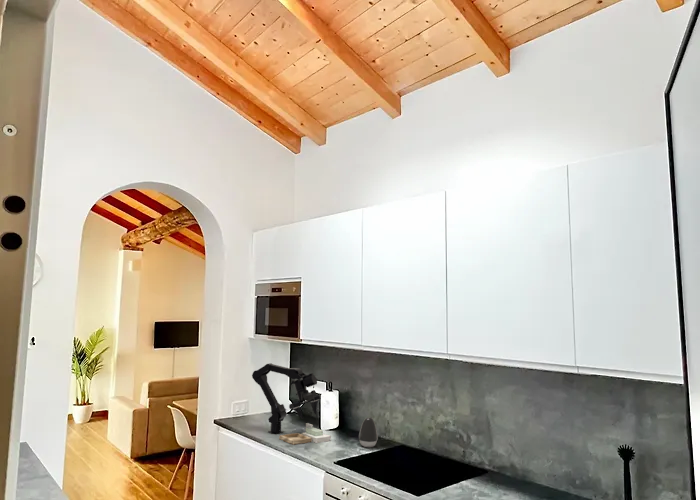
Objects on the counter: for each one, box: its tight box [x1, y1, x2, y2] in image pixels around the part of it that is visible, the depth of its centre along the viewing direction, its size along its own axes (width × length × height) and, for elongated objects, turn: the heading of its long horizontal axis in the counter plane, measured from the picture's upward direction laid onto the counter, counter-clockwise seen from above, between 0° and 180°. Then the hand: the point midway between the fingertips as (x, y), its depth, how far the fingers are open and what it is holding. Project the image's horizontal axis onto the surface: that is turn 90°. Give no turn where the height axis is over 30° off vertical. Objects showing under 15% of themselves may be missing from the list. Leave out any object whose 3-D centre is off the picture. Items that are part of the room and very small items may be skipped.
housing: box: [301, 432, 332, 444], centre depth 289 cm, size 14×10×2 cm
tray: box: [278, 432, 313, 446], centre depth 284 cm, size 14×12×2 cm
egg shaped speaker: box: [358, 416, 379, 448], centre depth 279 cm, size 10×10×15 cm
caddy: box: [304, 422, 324, 436], centre depth 292 cm, size 12×5×7 cm, turn 39°
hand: (309, 416), depth 293 cm, fingers open, 9 cm apart
